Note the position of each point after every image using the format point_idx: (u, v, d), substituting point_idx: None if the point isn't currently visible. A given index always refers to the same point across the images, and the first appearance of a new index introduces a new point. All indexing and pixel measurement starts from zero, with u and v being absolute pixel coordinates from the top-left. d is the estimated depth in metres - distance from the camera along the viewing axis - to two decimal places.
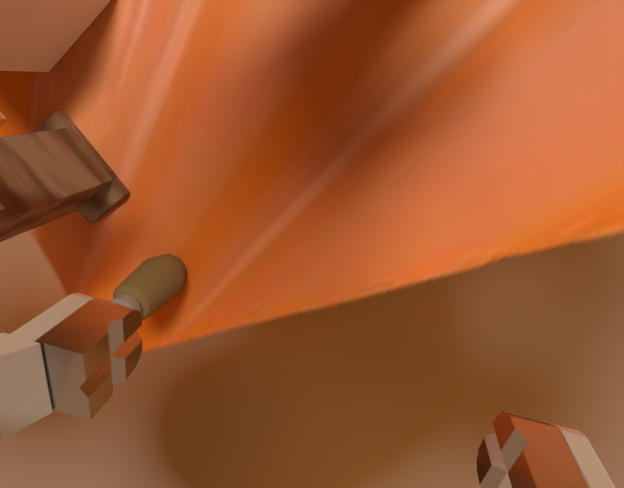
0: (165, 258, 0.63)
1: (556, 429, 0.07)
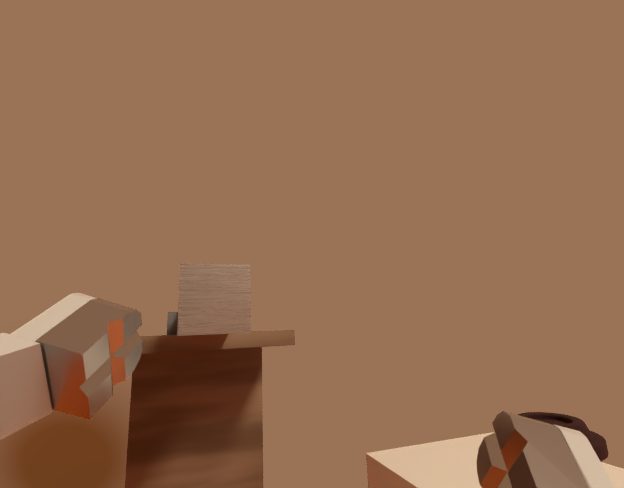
0: None
1: (556, 429, 0.07)
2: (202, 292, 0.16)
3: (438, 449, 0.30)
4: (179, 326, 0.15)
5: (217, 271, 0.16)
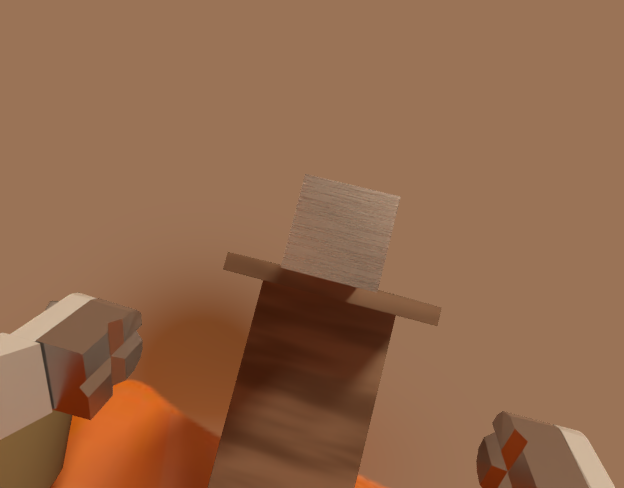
0: None
1: (557, 429, 0.07)
2: (325, 219, 0.11)
3: None
4: (285, 256, 0.11)
5: (351, 195, 0.11)
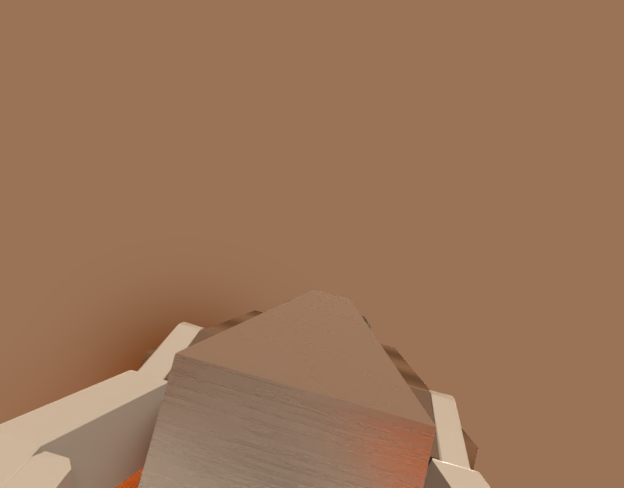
0: None
1: (427, 393, 0.07)
2: None
3: None
4: None
5: (299, 419, 0.04)
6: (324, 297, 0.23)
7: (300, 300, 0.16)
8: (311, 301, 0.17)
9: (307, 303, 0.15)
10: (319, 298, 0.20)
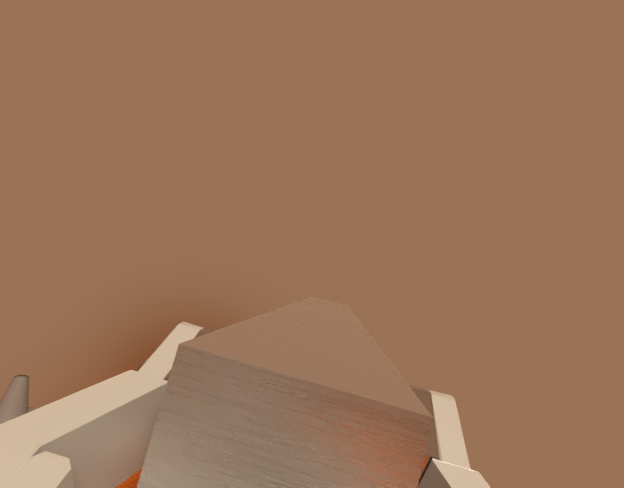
0: None
1: (427, 393, 0.07)
2: (225, 476, 0.04)
3: None
4: None
5: (299, 409, 0.04)
6: (323, 303, 0.23)
7: (299, 305, 0.16)
8: (310, 306, 0.17)
9: (306, 308, 0.15)
10: (318, 304, 0.20)
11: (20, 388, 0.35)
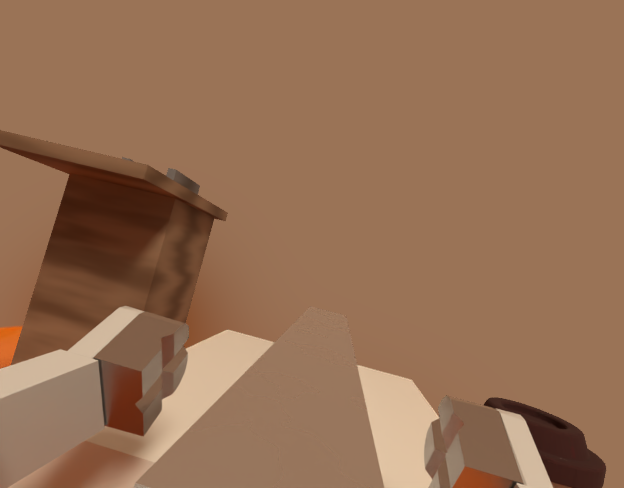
0: None
1: (496, 412, 0.07)
2: None
3: None
4: None
5: None
6: (319, 320, 0.22)
7: (292, 333, 0.16)
8: (303, 332, 0.17)
9: (298, 337, 0.15)
10: (313, 323, 0.20)
11: None
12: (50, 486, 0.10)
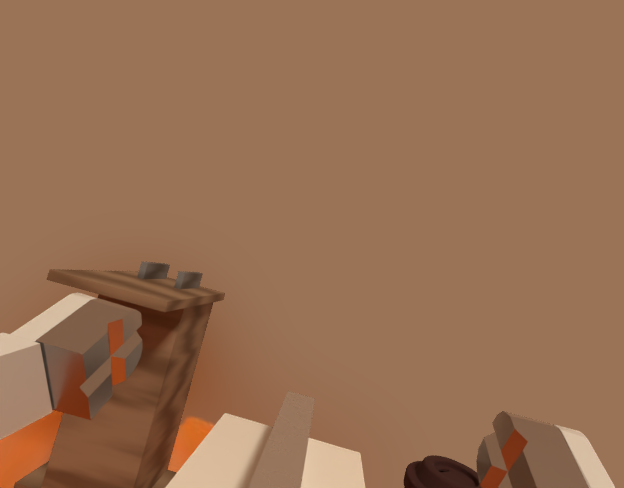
0: None
1: (557, 429, 0.07)
2: None
3: None
4: None
5: None
6: (289, 420, 0.32)
7: (266, 456, 0.25)
8: (274, 451, 0.26)
9: (269, 462, 0.25)
10: (284, 430, 0.30)
11: None
12: None
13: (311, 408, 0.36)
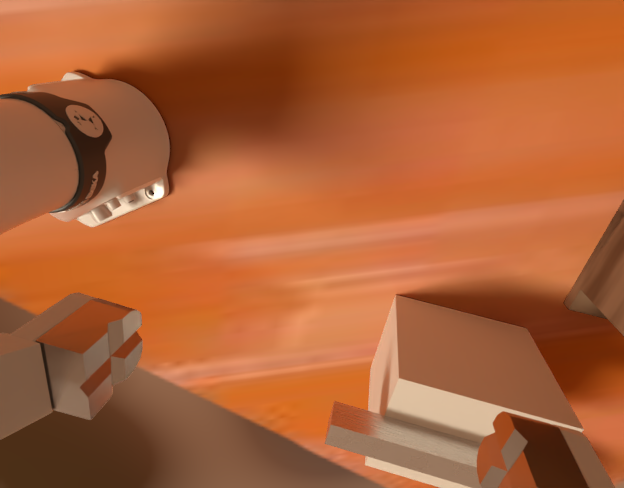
0: None
1: (556, 429, 0.07)
2: (330, 420, 0.39)
3: None
4: None
5: (328, 431, 0.38)
6: None
7: (445, 460, 0.36)
8: (454, 466, 0.36)
9: (438, 461, 0.36)
10: None
11: None
12: (395, 376, 0.39)
13: None
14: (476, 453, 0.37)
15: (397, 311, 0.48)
